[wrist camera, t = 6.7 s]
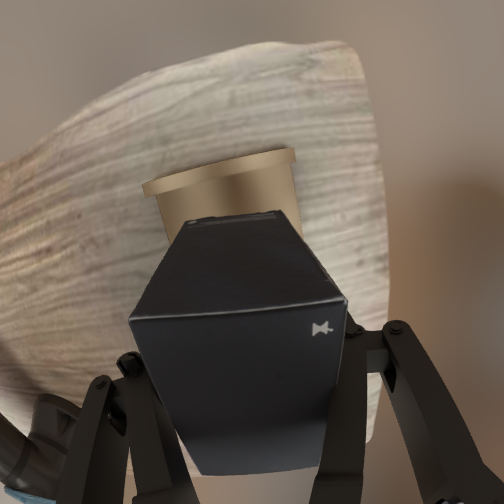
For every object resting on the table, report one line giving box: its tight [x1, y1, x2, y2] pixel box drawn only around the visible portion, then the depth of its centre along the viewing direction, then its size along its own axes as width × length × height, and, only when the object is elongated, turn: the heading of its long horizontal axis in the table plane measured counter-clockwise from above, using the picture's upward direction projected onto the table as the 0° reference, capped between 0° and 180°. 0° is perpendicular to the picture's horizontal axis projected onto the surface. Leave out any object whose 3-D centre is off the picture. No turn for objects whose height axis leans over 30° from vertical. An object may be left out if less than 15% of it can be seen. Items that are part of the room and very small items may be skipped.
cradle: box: [142, 148, 304, 245], centre depth 26 cm, size 18×16×4 cm
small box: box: [128, 210, 348, 476], centre depth 14 cm, size 11×6×10 cm, turn 5°
